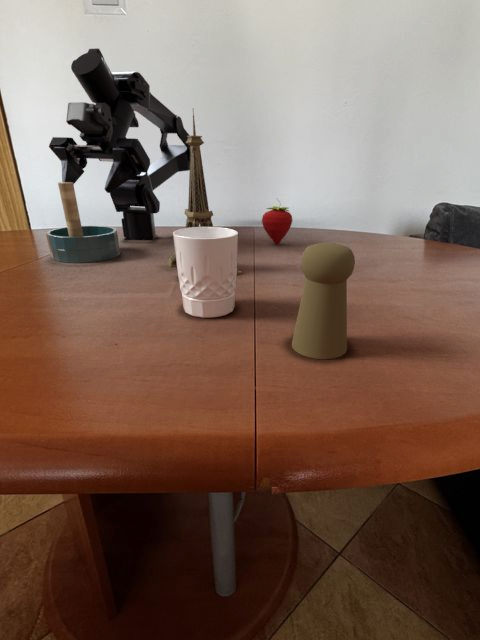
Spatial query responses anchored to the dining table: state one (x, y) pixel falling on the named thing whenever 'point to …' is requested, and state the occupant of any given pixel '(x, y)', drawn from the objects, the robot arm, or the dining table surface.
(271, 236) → the strawberry
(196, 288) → the white cup
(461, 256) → the dining table surface
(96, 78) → the robot arm
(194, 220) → the eiffel tower
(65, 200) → the stick
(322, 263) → the cork
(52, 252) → the bowl
